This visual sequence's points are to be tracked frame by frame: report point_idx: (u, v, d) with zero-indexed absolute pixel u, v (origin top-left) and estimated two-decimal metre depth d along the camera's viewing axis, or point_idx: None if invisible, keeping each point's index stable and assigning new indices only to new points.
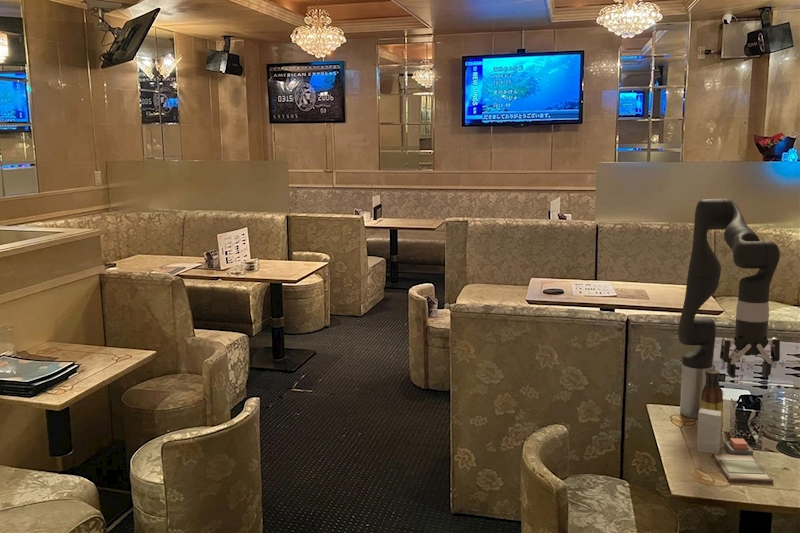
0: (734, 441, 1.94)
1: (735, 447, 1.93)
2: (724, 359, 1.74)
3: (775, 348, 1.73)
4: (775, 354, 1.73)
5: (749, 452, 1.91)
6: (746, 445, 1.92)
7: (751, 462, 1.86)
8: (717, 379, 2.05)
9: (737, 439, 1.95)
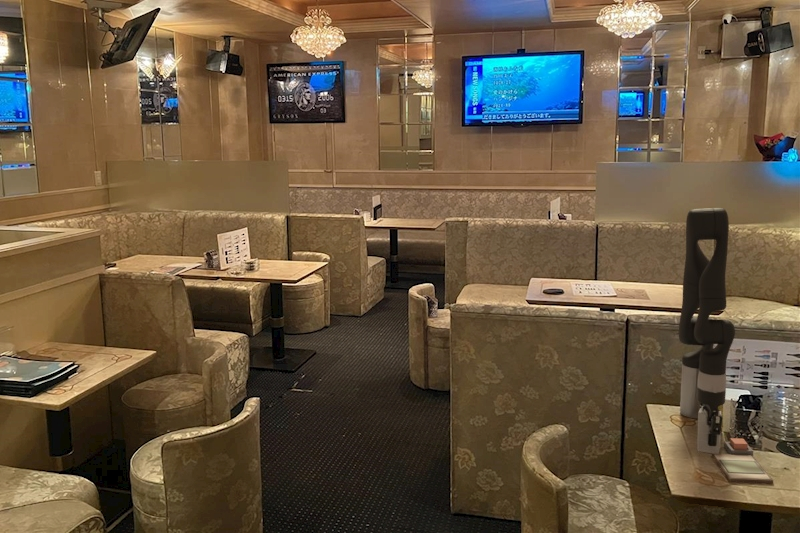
0: (734, 441, 1.94)
1: (735, 447, 1.93)
2: (720, 432, 1.90)
3: None
4: None
5: (749, 452, 1.91)
6: (746, 445, 1.92)
7: (751, 462, 1.86)
8: None
9: (737, 439, 1.95)
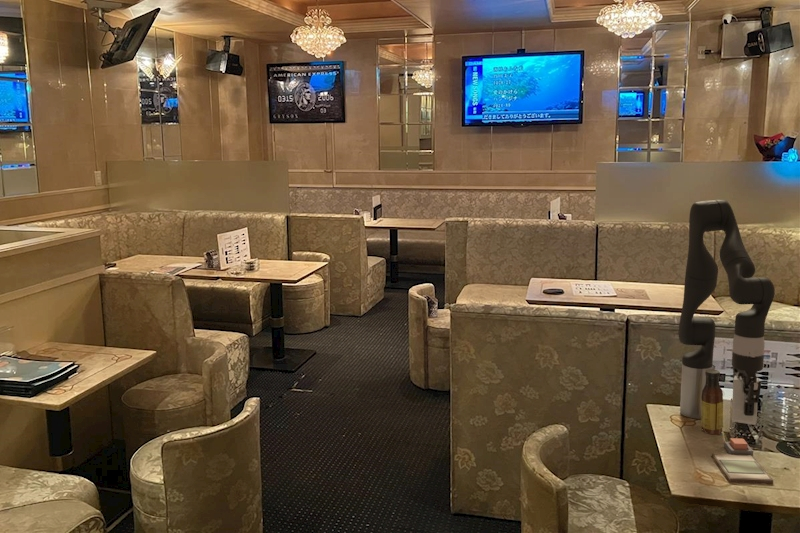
0: (734, 441, 1.94)
1: (735, 447, 1.93)
2: None
3: None
4: None
5: (749, 452, 1.91)
6: (746, 445, 1.92)
7: (751, 462, 1.86)
8: (717, 379, 2.05)
9: (737, 439, 1.95)
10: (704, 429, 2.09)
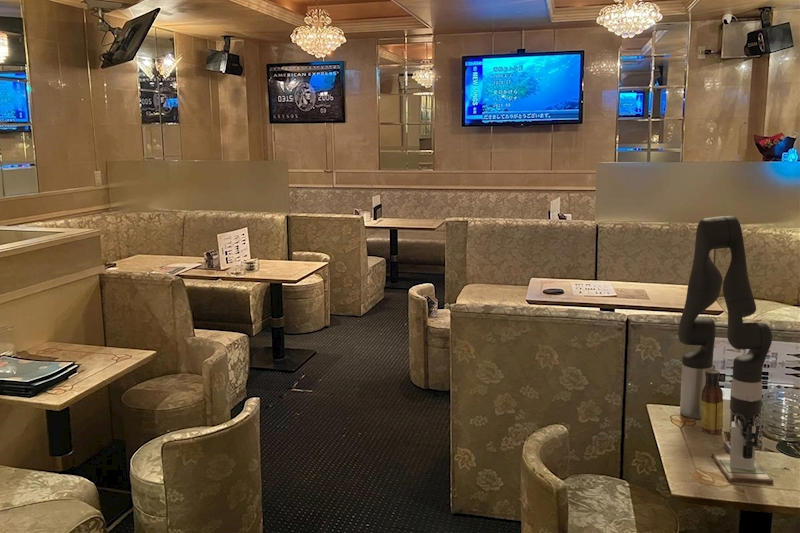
0: None
1: None
2: (756, 444, 1.76)
3: None
4: None
5: None
6: None
7: None
8: (717, 379, 2.05)
9: None
10: (704, 429, 2.09)
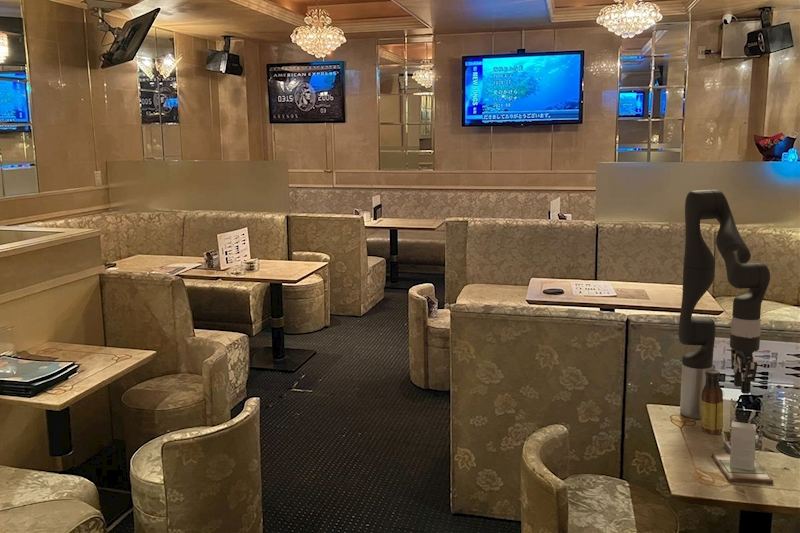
0: None
1: None
2: (754, 379, 1.85)
3: None
4: None
5: None
6: None
7: None
8: (717, 379, 2.05)
9: None
10: (704, 429, 2.09)
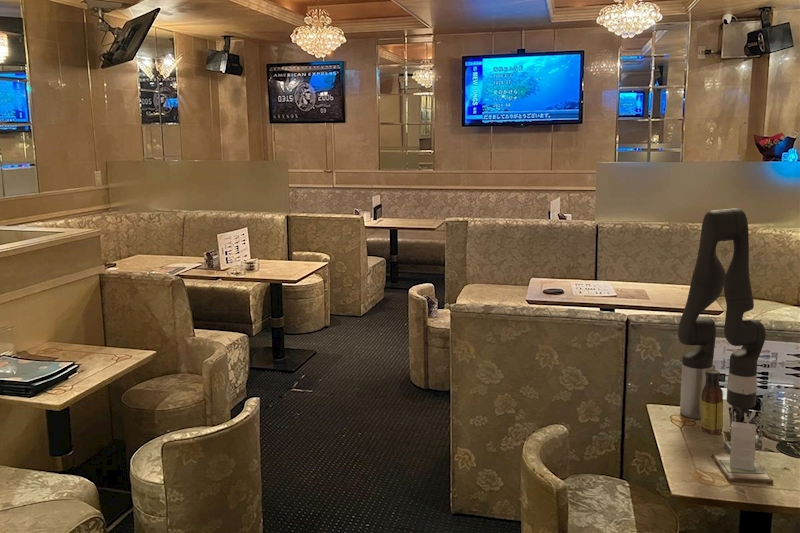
0: None
1: None
2: None
3: None
4: None
5: None
6: None
7: None
8: (717, 379, 2.05)
9: None
10: (704, 429, 2.09)
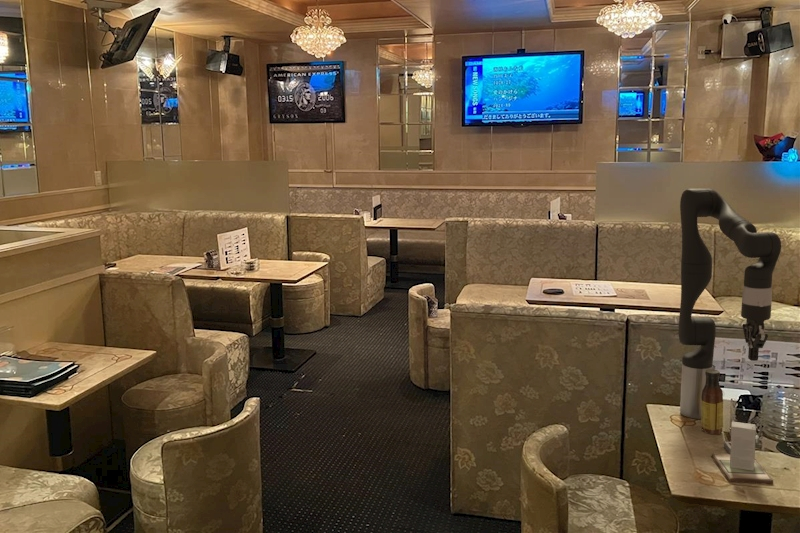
0: None
1: None
2: None
3: None
4: None
5: None
6: None
7: None
8: (717, 379, 2.05)
9: None
10: (704, 429, 2.09)
